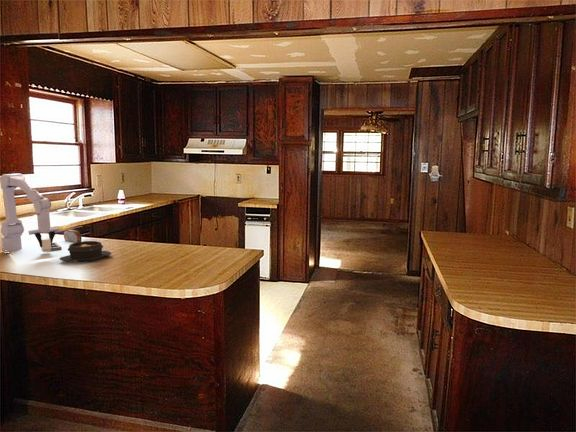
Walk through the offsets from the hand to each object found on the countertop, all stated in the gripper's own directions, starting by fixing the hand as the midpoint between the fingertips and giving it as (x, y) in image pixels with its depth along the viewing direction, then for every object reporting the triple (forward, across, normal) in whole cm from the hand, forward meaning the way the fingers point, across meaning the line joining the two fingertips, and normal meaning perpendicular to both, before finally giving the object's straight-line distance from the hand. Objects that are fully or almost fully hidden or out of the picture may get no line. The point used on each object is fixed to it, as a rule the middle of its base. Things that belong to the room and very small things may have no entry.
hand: (45, 246), depth 233 cm
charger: (+3, 0, 0) cm, 3 cm away
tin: (+6, +19, +27) cm, 34 cm away
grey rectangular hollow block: (+6, +5, +13) cm, 15 cm away
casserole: (+6, +15, -20) cm, 26 cm away
